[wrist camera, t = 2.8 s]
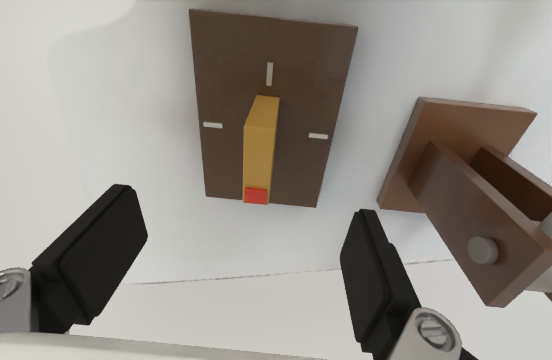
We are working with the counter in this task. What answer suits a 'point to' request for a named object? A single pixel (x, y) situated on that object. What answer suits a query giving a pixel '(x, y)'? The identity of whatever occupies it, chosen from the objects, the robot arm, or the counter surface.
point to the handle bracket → (474, 192)
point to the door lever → (548, 280)
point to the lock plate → (268, 82)
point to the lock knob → (259, 149)
